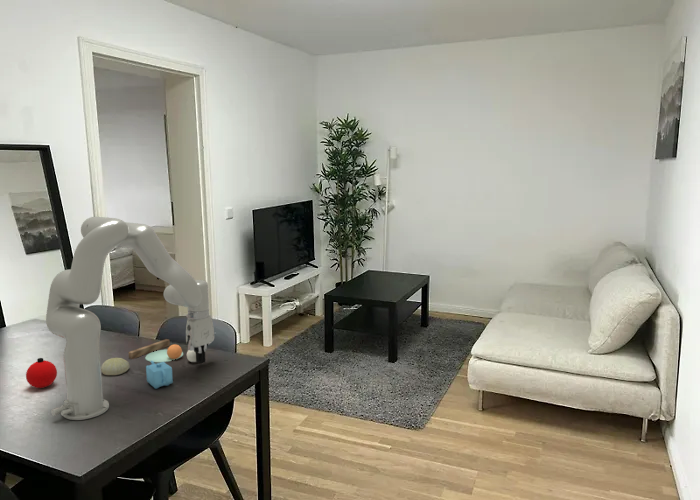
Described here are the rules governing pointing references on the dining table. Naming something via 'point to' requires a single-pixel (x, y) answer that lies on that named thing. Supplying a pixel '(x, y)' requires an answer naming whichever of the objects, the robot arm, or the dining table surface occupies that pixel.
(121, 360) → the sea urchin shell
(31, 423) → the dining table surface
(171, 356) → the orange ball
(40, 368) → the ornament
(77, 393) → the robot arm
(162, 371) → the blue fidget cube
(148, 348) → the walnut rail
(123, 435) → the dining table surface
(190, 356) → the cue ball
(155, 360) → the mint mark
